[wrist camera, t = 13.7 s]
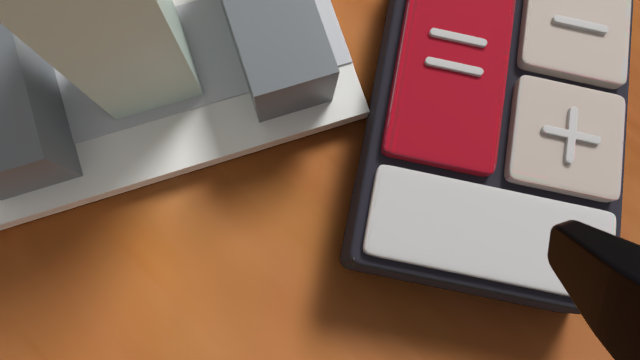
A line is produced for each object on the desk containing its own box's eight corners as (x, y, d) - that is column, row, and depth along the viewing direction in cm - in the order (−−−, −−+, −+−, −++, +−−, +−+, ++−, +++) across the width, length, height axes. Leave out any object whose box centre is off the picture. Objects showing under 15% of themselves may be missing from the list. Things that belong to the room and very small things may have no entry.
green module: (203, 94, 23) (136, -39, 13) (115, 119, 22) (-24, 2, 12) (179, 15, 23) (97, -170, 13) (93, 38, 23) (-58, -136, 13)
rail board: (301, -63, 25) (304, -133, 21) (366, 117, 24) (383, 84, 20) (-62, 32, 23) (-144, -22, 19) (-15, 235, 22) (-92, 227, 18)
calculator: (647, -19, 22) (630, 319, 19) (589, 29, 27) (568, 314, 23) (410, -73, 22) (350, 262, 19) (390, -15, 26) (337, 267, 23)
